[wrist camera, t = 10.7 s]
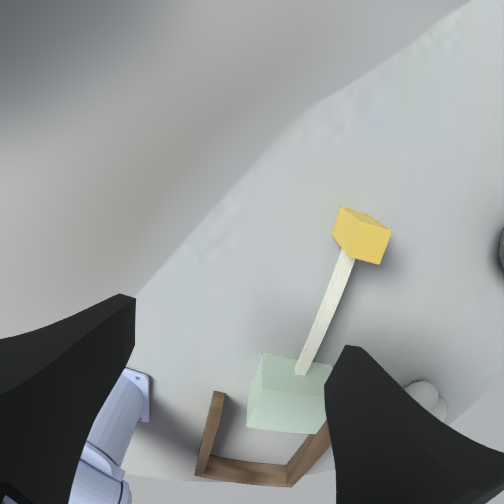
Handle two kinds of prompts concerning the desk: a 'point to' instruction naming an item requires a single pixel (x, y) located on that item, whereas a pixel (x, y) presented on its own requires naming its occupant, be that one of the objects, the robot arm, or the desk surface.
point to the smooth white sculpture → (428, 398)
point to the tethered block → (312, 341)
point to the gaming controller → (502, 249)
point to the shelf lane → (250, 470)
